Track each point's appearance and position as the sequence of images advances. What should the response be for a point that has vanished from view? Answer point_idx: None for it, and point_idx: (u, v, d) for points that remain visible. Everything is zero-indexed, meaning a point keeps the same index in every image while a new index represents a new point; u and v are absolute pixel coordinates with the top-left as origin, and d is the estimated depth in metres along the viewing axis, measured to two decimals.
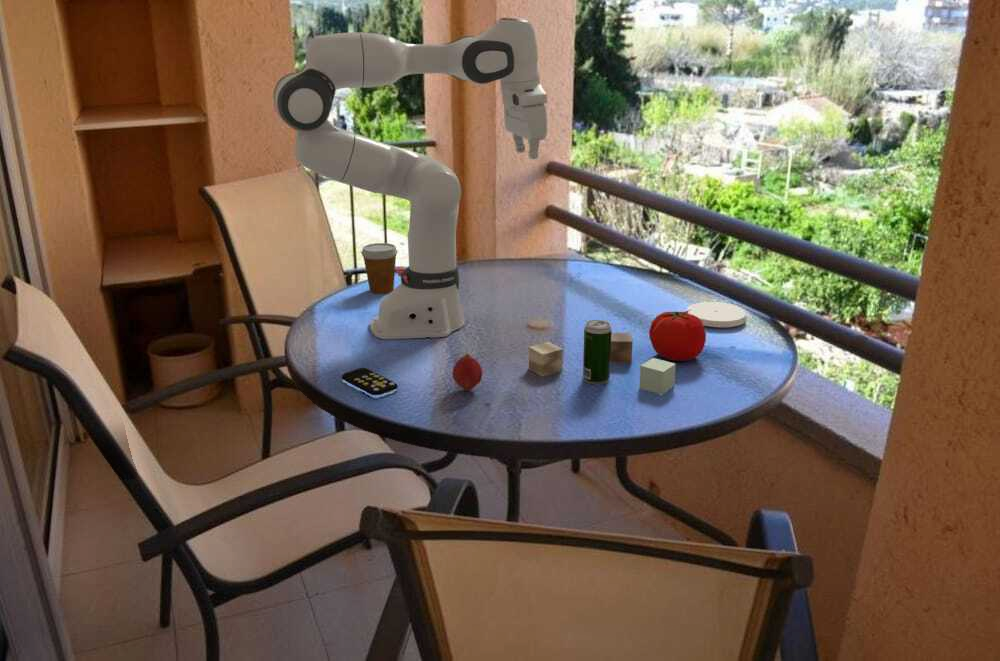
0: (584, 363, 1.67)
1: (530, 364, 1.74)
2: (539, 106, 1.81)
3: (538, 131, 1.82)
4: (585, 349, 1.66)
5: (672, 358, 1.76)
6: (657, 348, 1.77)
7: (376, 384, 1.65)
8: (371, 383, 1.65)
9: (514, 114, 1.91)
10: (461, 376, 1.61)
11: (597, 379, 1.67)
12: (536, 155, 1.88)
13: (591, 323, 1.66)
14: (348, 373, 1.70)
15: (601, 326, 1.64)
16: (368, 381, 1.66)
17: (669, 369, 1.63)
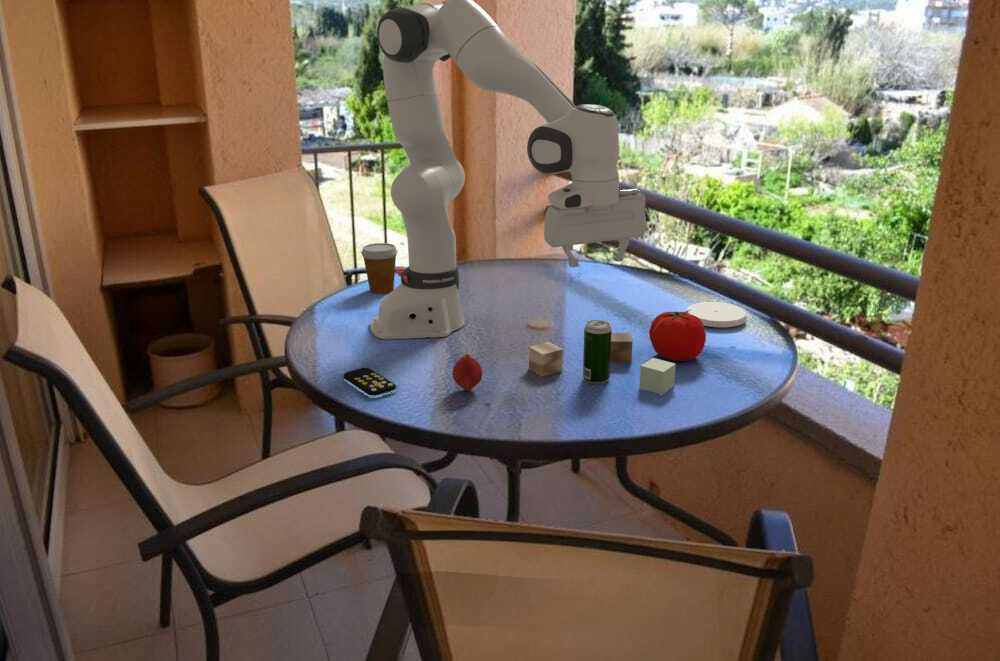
0: (584, 363, 1.67)
1: (530, 364, 1.74)
2: (555, 210, 1.57)
3: (546, 235, 1.59)
4: (585, 349, 1.66)
5: (672, 358, 1.76)
6: (657, 348, 1.77)
7: (375, 384, 1.65)
8: (370, 383, 1.65)
9: None
10: (461, 376, 1.61)
11: (597, 379, 1.67)
12: (571, 264, 1.62)
13: (591, 323, 1.66)
14: (350, 372, 1.71)
15: (601, 326, 1.64)
16: (368, 381, 1.66)
17: (669, 369, 1.63)
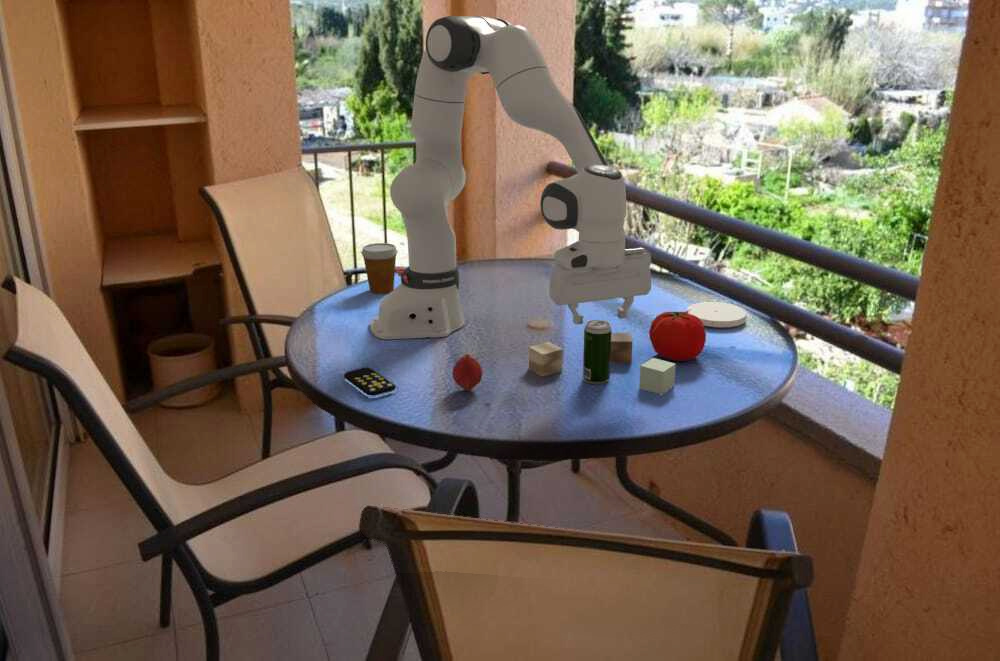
0: (584, 363, 1.67)
1: (530, 364, 1.74)
2: (561, 269, 1.58)
3: (552, 293, 1.60)
4: (585, 349, 1.66)
5: (672, 358, 1.76)
6: (657, 348, 1.77)
7: (374, 384, 1.65)
8: (370, 383, 1.65)
9: None
10: (461, 376, 1.61)
11: (597, 379, 1.67)
12: (575, 321, 1.63)
13: (591, 323, 1.66)
14: (351, 372, 1.71)
15: (601, 326, 1.64)
16: (367, 381, 1.66)
17: (669, 369, 1.63)
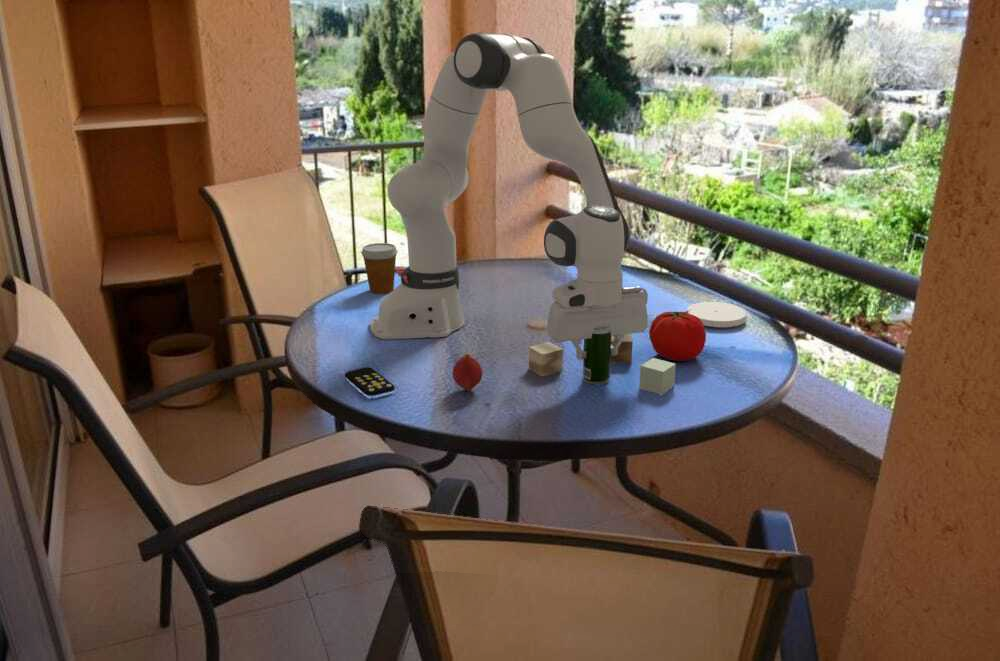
0: (584, 363, 1.67)
1: (530, 364, 1.74)
2: (559, 307, 1.60)
3: (549, 330, 1.63)
4: (585, 349, 1.66)
5: (672, 358, 1.76)
6: (657, 348, 1.77)
7: (373, 384, 1.65)
8: (369, 383, 1.65)
9: None
10: (461, 376, 1.61)
11: (597, 379, 1.67)
12: (578, 356, 1.66)
13: None
14: (352, 371, 1.71)
15: None
16: (367, 381, 1.66)
17: (669, 369, 1.63)
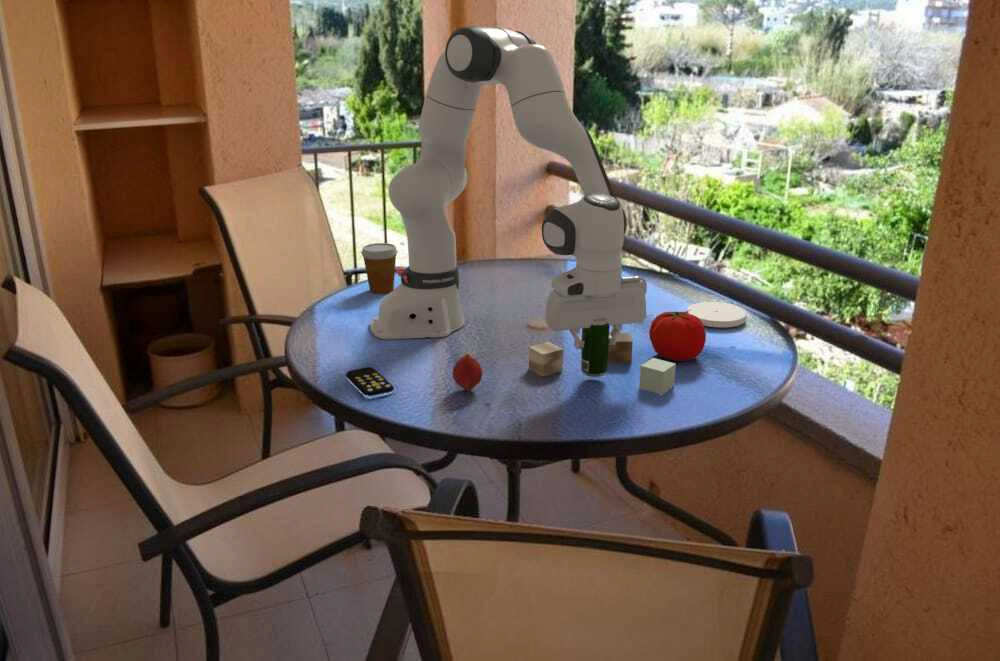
0: (582, 355, 1.67)
1: (530, 364, 1.74)
2: (558, 296, 1.60)
3: (548, 319, 1.62)
4: None
5: (672, 358, 1.76)
6: (657, 348, 1.77)
7: (372, 385, 1.64)
8: (369, 383, 1.65)
9: None
10: (461, 376, 1.61)
11: (595, 371, 1.66)
12: (576, 345, 1.65)
13: None
14: (353, 371, 1.71)
15: None
16: (367, 381, 1.66)
17: (669, 369, 1.63)
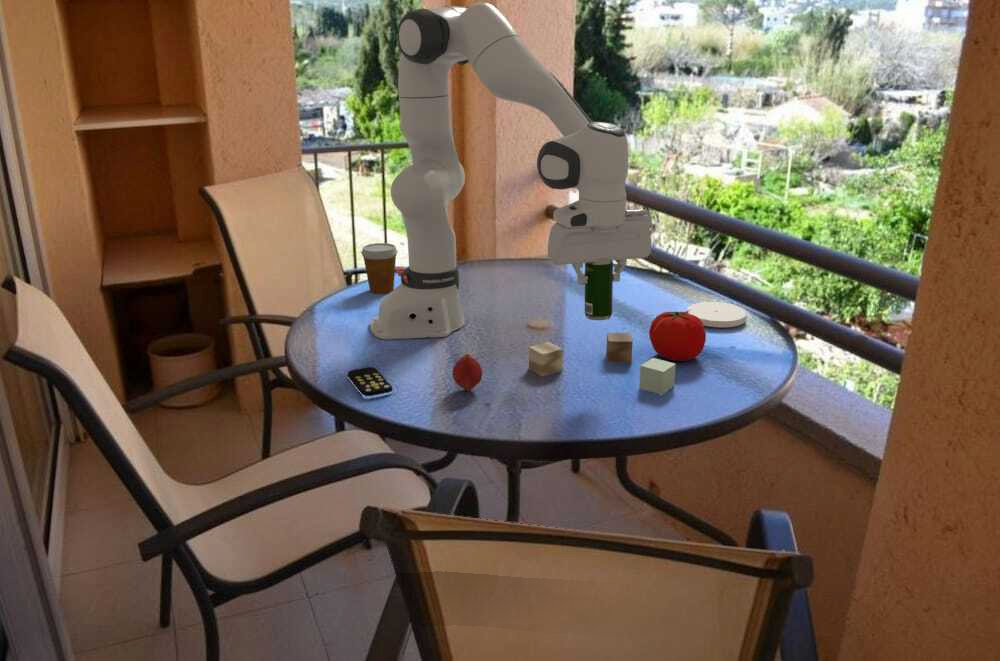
0: (585, 298, 1.62)
1: (530, 364, 1.74)
2: (560, 227, 1.55)
3: (550, 252, 1.57)
4: None
5: (672, 358, 1.76)
6: (657, 348, 1.77)
7: (371, 385, 1.64)
8: (368, 383, 1.65)
9: None
10: (461, 376, 1.61)
11: (599, 314, 1.61)
12: (579, 281, 1.61)
13: None
14: (354, 370, 1.71)
15: None
16: (367, 381, 1.66)
17: (669, 369, 1.63)
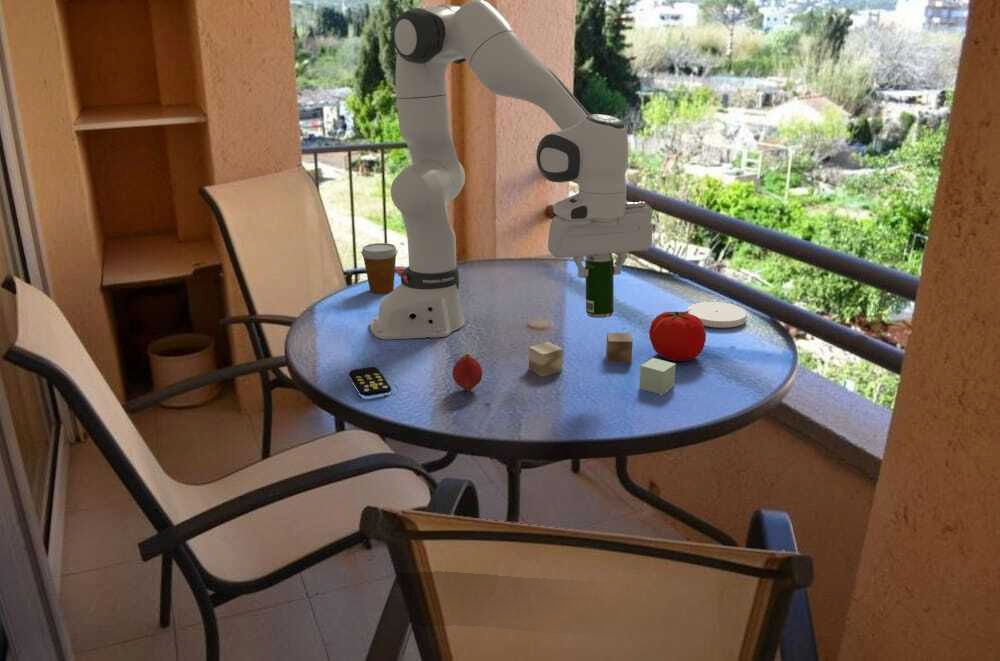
0: (586, 296, 1.62)
1: (530, 364, 1.74)
2: (561, 220, 1.54)
3: (550, 246, 1.57)
4: (587, 280, 1.61)
5: (672, 358, 1.76)
6: (657, 348, 1.77)
7: (370, 385, 1.64)
8: (367, 383, 1.65)
9: None
10: (461, 376, 1.61)
11: (601, 311, 1.61)
12: (580, 274, 1.60)
13: None
14: (356, 370, 1.72)
15: (602, 255, 1.60)
16: (366, 381, 1.66)
17: (669, 369, 1.63)
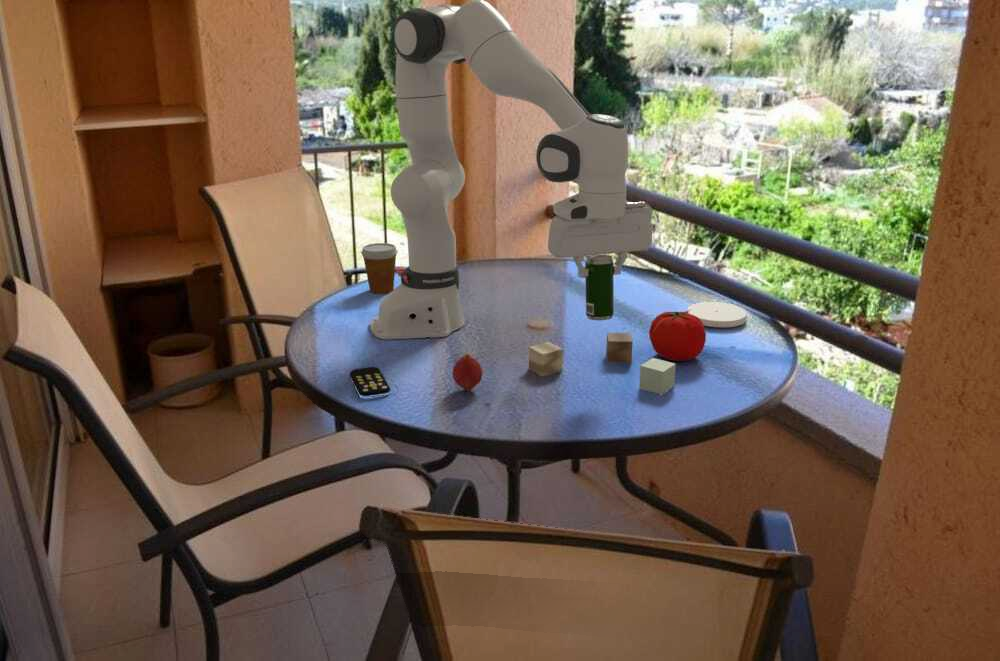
0: (586, 299, 1.62)
1: (530, 364, 1.74)
2: (561, 220, 1.54)
3: (550, 246, 1.57)
4: (587, 283, 1.61)
5: (672, 358, 1.76)
6: (657, 348, 1.77)
7: (370, 385, 1.64)
8: (367, 383, 1.65)
9: None
10: (461, 376, 1.61)
11: (601, 314, 1.61)
12: (580, 274, 1.60)
13: (592, 256, 1.61)
14: (357, 370, 1.72)
15: (602, 257, 1.60)
16: (366, 381, 1.66)
17: (669, 369, 1.63)
